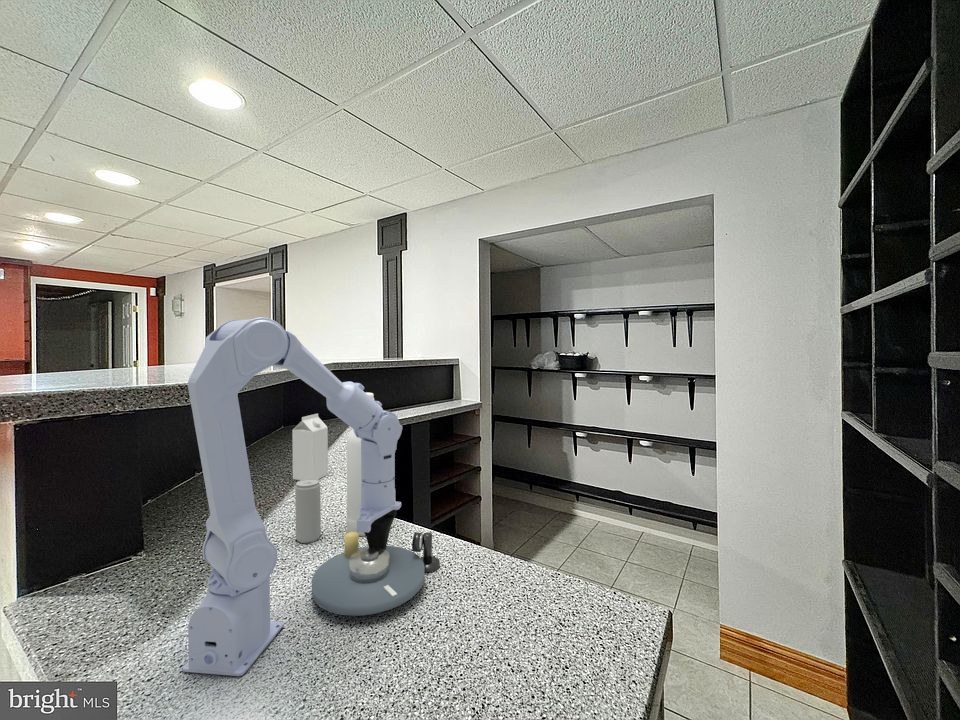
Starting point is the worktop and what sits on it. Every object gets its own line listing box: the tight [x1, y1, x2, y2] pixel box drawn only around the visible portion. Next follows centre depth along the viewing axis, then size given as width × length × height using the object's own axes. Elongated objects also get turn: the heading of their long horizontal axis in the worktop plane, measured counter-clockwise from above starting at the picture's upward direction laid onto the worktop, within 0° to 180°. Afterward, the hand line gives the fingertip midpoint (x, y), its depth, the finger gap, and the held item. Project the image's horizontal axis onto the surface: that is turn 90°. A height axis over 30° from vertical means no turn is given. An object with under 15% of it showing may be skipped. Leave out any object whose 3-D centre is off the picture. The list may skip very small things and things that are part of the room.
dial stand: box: [411, 531, 441, 573], centre depth 76 cm, size 5×4×7 cm
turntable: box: [311, 532, 425, 617], centre depth 69 cm, size 18×18×5 cm
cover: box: [349, 548, 389, 584], centre depth 69 cm, size 6×6×3 cm
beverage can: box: [294, 479, 322, 544], centre depth 87 cm, size 5×5×12 cm
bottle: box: [345, 392, 375, 537], centre depth 91 cm, size 8×8×30 cm
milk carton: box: [291, 413, 329, 481], centre depth 126 cm, size 7×7×19 cm
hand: (378, 554), depth 73 cm, fingers closed
